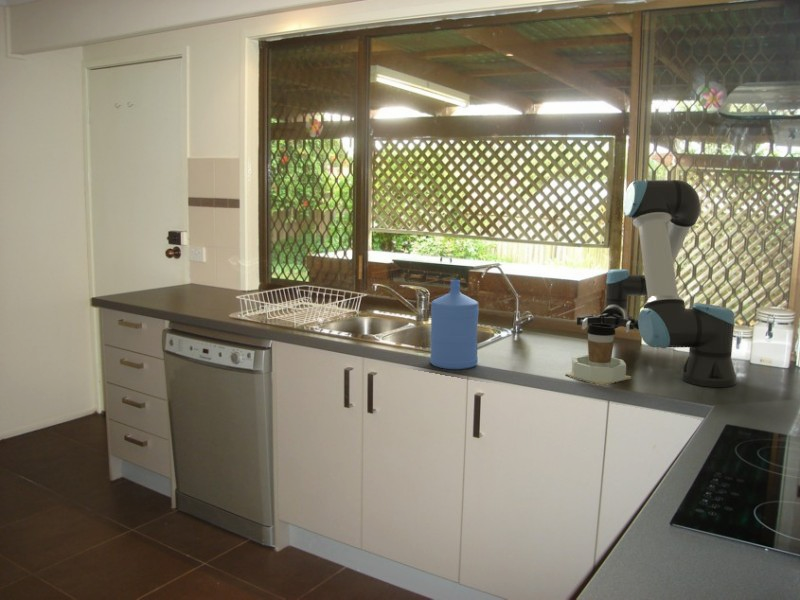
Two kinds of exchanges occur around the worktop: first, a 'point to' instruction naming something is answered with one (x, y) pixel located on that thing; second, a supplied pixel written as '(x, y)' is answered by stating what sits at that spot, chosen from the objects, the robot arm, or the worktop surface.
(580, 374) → the bowl
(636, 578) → the worktop surface
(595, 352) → the coffee cup
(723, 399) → the worktop surface
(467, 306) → the water jug
